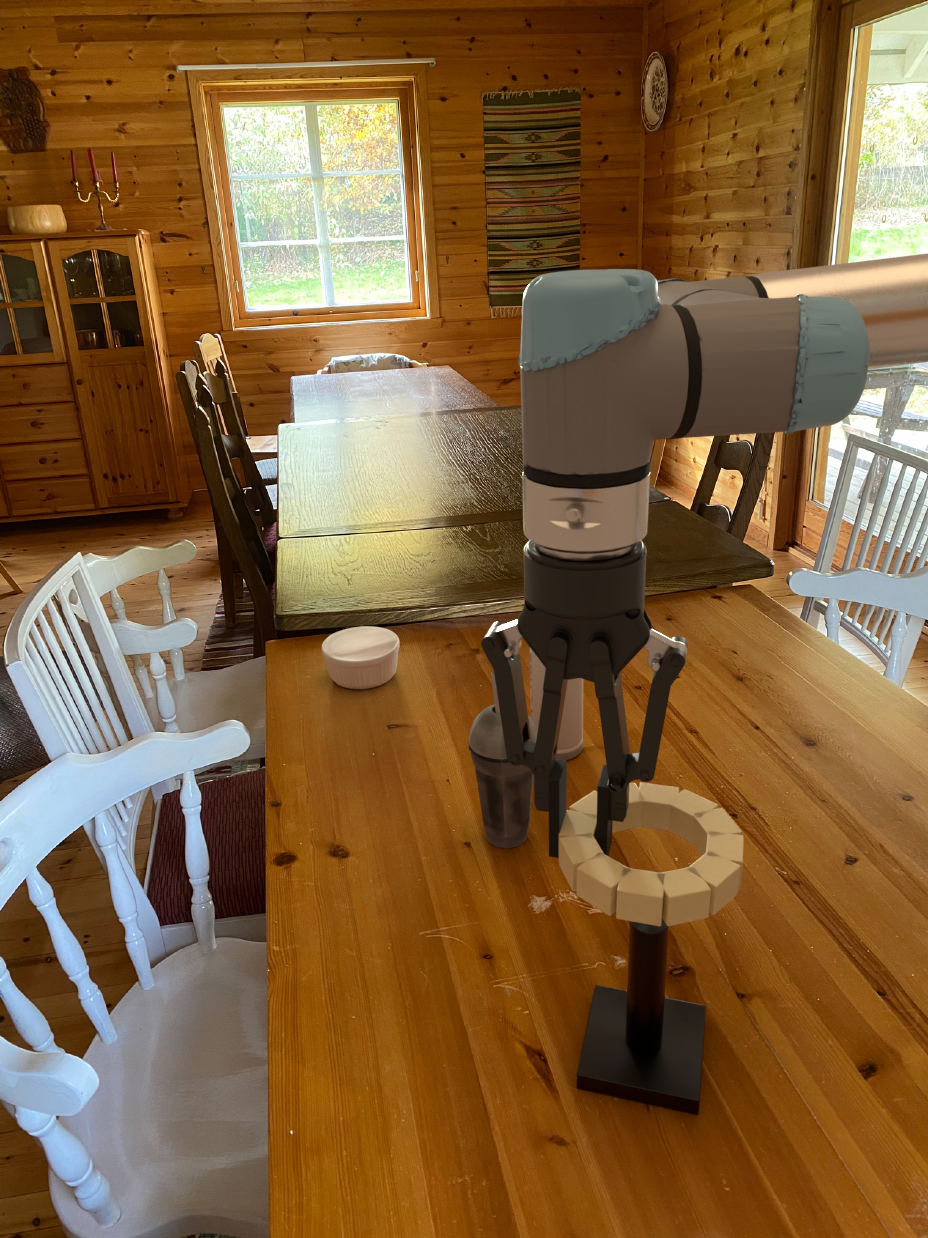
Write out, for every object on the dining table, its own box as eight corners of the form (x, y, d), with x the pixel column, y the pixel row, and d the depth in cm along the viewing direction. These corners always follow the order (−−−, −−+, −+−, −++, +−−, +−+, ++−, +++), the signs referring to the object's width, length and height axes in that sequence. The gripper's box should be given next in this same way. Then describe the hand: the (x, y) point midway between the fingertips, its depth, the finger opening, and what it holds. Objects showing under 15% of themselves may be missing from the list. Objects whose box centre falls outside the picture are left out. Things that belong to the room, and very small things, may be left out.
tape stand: (704, 1018, 75) (716, 888, 69) (698, 1115, 67) (710, 977, 61) (595, 997, 77) (597, 870, 72) (576, 1088, 69) (577, 953, 64)
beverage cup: (554, 831, 98) (553, 664, 89) (511, 866, 93) (506, 693, 85) (502, 806, 102) (496, 645, 94) (458, 838, 97) (448, 671, 89)
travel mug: (591, 740, 114) (594, 592, 105) (569, 767, 109) (570, 613, 100) (546, 729, 117) (545, 583, 108) (522, 754, 112) (519, 604, 103)
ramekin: (371, 701, 125) (368, 666, 123) (308, 683, 131) (304, 650, 129) (417, 667, 134) (414, 634, 132) (356, 652, 139) (353, 620, 137)
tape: (742, 822, 68) (745, 796, 67) (737, 940, 57) (740, 911, 56) (577, 799, 72) (578, 773, 71) (544, 906, 61) (544, 878, 60)
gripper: (444, 553, 55) (461, 865, 65) (714, 570, 51) (689, 902, 60) (477, 514, 61) (488, 803, 71) (719, 527, 57) (696, 832, 67)
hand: (580, 848), depth 66 cm, fingers closed on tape, 3 cm apart
